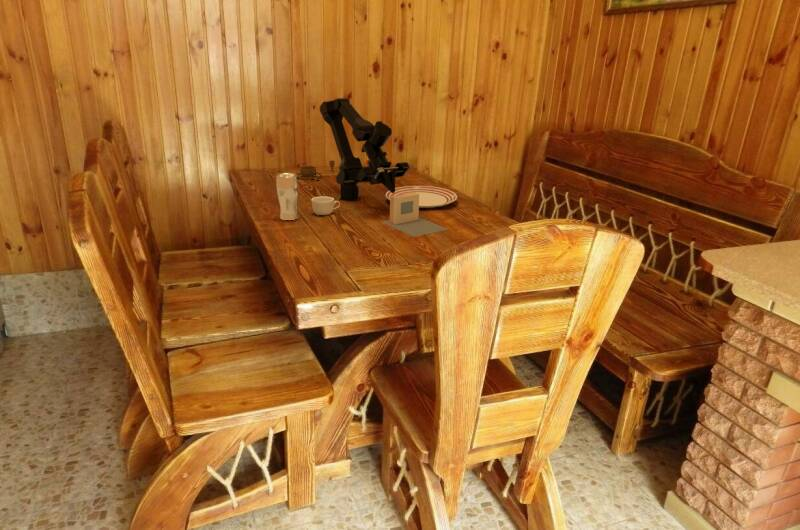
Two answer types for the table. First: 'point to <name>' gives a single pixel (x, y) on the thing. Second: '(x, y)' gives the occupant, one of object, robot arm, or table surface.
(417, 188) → the dinner plate
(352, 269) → the table surface
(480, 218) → the table surface
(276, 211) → the table surface
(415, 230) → the mat
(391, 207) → the tile
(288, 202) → the beer glass
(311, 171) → the place setting
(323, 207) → the teacup
